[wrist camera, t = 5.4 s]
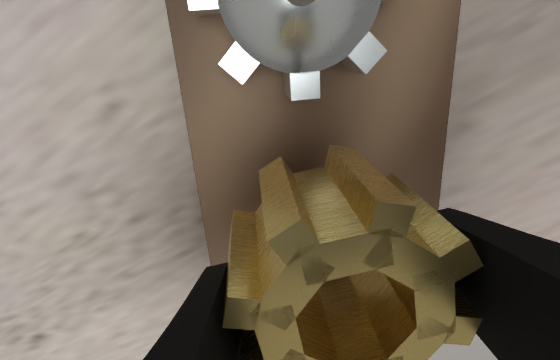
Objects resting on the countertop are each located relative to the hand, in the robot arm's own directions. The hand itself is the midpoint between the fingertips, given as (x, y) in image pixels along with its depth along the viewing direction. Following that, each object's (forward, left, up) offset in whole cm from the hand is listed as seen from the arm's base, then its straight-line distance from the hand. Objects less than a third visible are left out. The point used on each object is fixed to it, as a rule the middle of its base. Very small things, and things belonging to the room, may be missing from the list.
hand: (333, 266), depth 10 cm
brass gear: (0, 0, -2) cm, 2 cm away
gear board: (-1, -3, -7) cm, 7 cm away
